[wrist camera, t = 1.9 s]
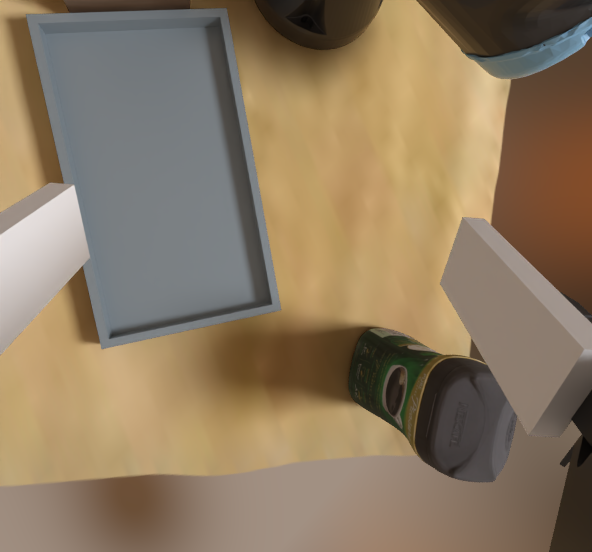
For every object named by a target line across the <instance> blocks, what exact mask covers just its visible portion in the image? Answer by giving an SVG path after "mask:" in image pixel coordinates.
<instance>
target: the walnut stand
mask: <svg viewBox="0 0 592 552" xmlns="http://www.w3.org/2000/svg"><path fill="white" fill-rule="evenodd" d="M64 2H65V4H66V6H67V8H68V10H69V12H70V13H87V12H118V11H150V10H182V9H190V0H64Z"/></svg>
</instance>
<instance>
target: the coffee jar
mask: <svg viewBox="0 0 592 552" xmlns="http://www.w3.org/2000/svg"><path fill="white" fill-rule="evenodd" d="M349 392H350V395H351V397H352V398H353V400H354V401H355V402H357V403H358V404H359V405H360V406H362V407H363V408H365V409H366V410H368V411H370V412H371V413H373V414H375V415H376V416H378V417H380V418H382V419H383V420H385V421H386V422H388V423H389V424H391V425H392V426H394V427H395V428H397V429H398V430H399V431H400V432H402V433H403V434H404V435H405V437H406V438H407V439H408V441H409V443H410V445H411V446H412V448H413V450H414V451H415V453H416V454H417V455H418V457H419V458H420V459H421V460H422V461H424V462H425V463H427V464H428V465H430V466H432V467H433V468H435V469H436V470H437V471H439V472H441V473H443V474H445V475H447V476H449V477H452V478H455V479H458V480H463V481H469V482H493V481H495V480H496V477H497V476H498V475H499V473H500V472H501V471H502V469H503V467H504V465H505V463H506V461H507V458H508V455H509V451H510V447H511V442H512V439H513V435H514V430H515V425H516V420H517V415H516V413H515V411H514V410H513V408H512V406H511V405H510V403H509V401H508V399H507V398H506V396H505V394H504V393H503V391H502V389H501V387H500V386H499V384H498V382H497V381H496V379H495V377H494V375H493V374H492V372H491V370H490V369H489V367H488V365H487V364H485V363H483V362H481V361H479V360H476V359H473V358H470V357H466V356H460V355H442V354H439V353H437V352H436V351H434V350H432V349H430V348H428V347H427V346H425V345H423V344H422V343H420V342H418V341H417V340H415V339H413V338H411V337H409V336H407V335H405V334H403V333H400V332H397V331H394V330H390V329H384V328H374V329H370V330H368V331H366V332H365V333H364V334H363V335H362V336H361V337H360V339H359V341H358V343H357V346H356V349H355V352H354V355H353V359H352V363H351V368H350V374H349Z"/></svg>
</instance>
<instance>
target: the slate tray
mask: <svg viewBox="0 0 592 552" xmlns="http://www.w3.org/2000/svg"><path fill="white" fill-rule="evenodd" d="M26 18H27V22H28V26H29V31H30V35H31V40H32V44H33V49H34V53H35V57H36V62H37V66H38V71H39V75H40V79H41V84H42V88H43V93H44V97H45V101H46V106H47V110H48V115H49V119H50V124H51V128H52V132H53V137H54V141H55V146H56V150H57V154H58V159H59V163H60V168H61V172H62V176H63V181H64V184H74V186H75V191H76V195H77V200H78V204H79V209H80V213H81V218H82V222H83V227H84V232H85V236H86V241H87V245H88V250H89V254H90V258H89V259H88V260H87V261H86V263H85V264H84V265H83V269H84V274H85V278H86V282H87V287H88V291H89V296H90V300H91V304H92V309H93V313H94V318H95V322H96V326H97V331H98V335H99V340H100V344H101V349H105V348H109V347H114V346H118V345H123V344H128V343H132V342H137V341H142V340H146V339H151V338H155V337H160V336H165V335H169V334H174V333H178V332H183V331H188V330H192V329H197V328H201V327H206V326H211V325H215V324H220V323H225V322H229V321H234V320H238V319H243V318H248V317H252V316H257V315H261V314H266V313H271V312H275V311H280V310H281V306H280V301H279V295H278V290H277V284H276V278H275V273H274V267H273V262H272V256H271V251H270V245H269V240H268V234H267V229H266V223H265V218H264V212H263V206H262V201H261V195H260V190H259V184H258V179H257V173H256V168H255V162H254V157H253V151H252V145H251V140H250V134H249V129H248V123H247V118H246V112H245V107H244V101H243V96H242V90H241V84H240V79H239V73H238V68H237V62H236V57H235V51H234V46H233V40H232V35H231V29H230V23H229V18H228V12H227V8H213V9H182V10H150V11H118V12H87V13H55V14H26Z"/></svg>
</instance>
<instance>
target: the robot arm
mask: <svg viewBox="0 0 592 552" xmlns="http://www.w3.org/2000/svg"><path fill="white" fill-rule="evenodd" d="M417 1H418V3H419V4H420V5H421V6H422V7H423V8H424V9H425V10H426V11H427V12H428V13H429V15H430V16H431V17H432V18H433V19H434V20H435V21H436V22H437V23H438V24H439V25H440V26H441V28H442V29H443V30H444V31H445V32H446V33H447V34H448V35H449V36H450V37H451V38H452V40H453V41H454V42H455V43H456V44H457V45H458V46H459V47H460V48H461V51H462V52H463V54H465V55H466V56H467V57H468V58H470V59H472V60H474V61H475V62H477V63H478V64H479V65H480V66H481V67H482V68H483V69H484V70H485V71H487V72H488V73H489V74H490V75H492V76H494V77H496V78H501V79H515V78H521V77H525V76H528V75H531V74H533V73H536V72H539V71H541V70H544V69H546V68H548V67H550V66H552V65H554V64H556V63H558V62H560V61H561V60H563V59H565V58H567V57H568V56H570V55H571V54H573V53H575V52H576V51H578V50H579V49H580V48H582V47H583V46H584V45H585V43H586V41H587V40H588V39H589V38H590V37H592V0H417ZM255 2H256V4H257V6H258V8H259V9H260V11H261V13H262V14H263V16H264V17H265V18H266V20H267V21H268V22H269V23H270V24H271V25H272V26H273V27H274V28H275V29H276V30H277V31H278V32H279V33H281V34H282V35H283V36H285V37H286V38H288V39H289V40H291V41H293V42H295V43H297V44H299V45H302V46H305V47H308V48H313V49H334V48H338V47H342V46H344V45H347V44H349V43H350V42H352V41H354V40H355V39H356V38H358V37H359V36H360V35H361V34H362V33H363V32H364V31H365V30H366V28H367V27H368V25H369V24H370V23H371V21H372V20H373V19H374V17H375V16H376V14H377V12H378V10H379V8H380V6H381V4H382V2H383V0H255ZM89 258H90V254H89V250H88V245H87V241H86V236H85V232H84V227H83V222H82V218H81V213H80V209H79V204H78V200H77V195H76V191H75V186H74V184H62V183H49V184H47V185H45V186H44V187H42V188H40V189H39V190H37V191H36V192H34V193H32V194H31V195H29V196H27V197H26V198H24V199H22V200H21V201H19V202H17V203H16V204H14V205H12V206H11V207H9V208H7V209H6V210H4V211H2V212H1V213H0V355H1V354H2V353H3V352H4V351H5V350H6V349H7V347H8V346H9V345H10V344H11V343H12V342H13V341H14V340H15V339H16V338H17V337H18V335H19V334H20V333H21V332H22V331H23V330H24V329H25V328H26V327H27V326H28V325H29V324H30V322H31V321H32V320H33V319H34V318H35V317H36V316H37V315H38V314H39V313H40V312H41V310H42V309H43V308H44V307H45V306H46V305H47V304H48V303H49V302H50V301H51V300H52V298H53V297H54V296H55V295H56V294H57V293H58V292H59V291H60V290H61V289H62V288H63V286H64V285H65V284H66V283H67V282H68V281H69V280H70V279H71V278H72V277H73V276H74V275H75V273H76V272H77V271H78V270H79V269H80V268H81V267H82V266H83V265H84V264H85V263H86V261H87V260H88V259H89ZM440 285H441V286H442V288H443V290H444V291H445V293H446V295H447V297H448V298H449V300H450V302H451V303H452V305H453V307H454V309H455V310H456V312H457V314H458V315H459V317H460V319H461V321H462V322H463V324H464V326H465V327H466V329H467V331H468V333H469V334H470V336H471V338H472V339H473V341H474V343H475V344H476V346H477V348H478V350H479V351H480V353H481V355H482V357H483V358H484V360H485V362H486V363H487V365H488V367H489V369H490V370H491V372H492V374H493V375H494V377H495V379H496V381H497V382H498V384H499V386H500V387H501V389H502V391H503V393H504V394H505V396H506V398H507V399H508V401H509V403H510V405H511V406H512V408H513V410H514V411H515V413H516V415H517V417H518V418H519V420H520V422H521V423H522V425H523V427H524V429H525V430H526V432H527V433H528V435H529V436H544V437H560V436H561V435H562V433H563V432H564V431H565V429H566V428H567V426H568V425H569V424H570V422H571V421H573V422H574V423H575V425H576V426H577V427H578V429H579V430H580V432H581V433H582V435H581V436H580V437H579V439H578V440H577V441H576V443H575V444H574V445H573V447H572V448H571V449H570V451H569V452H568V453H567V455H566V456H565V457H564V459H563V460H562V461H561V463H560V465H562V466H564V467H565V466H566V465H567V464H568V462H570V465H569V469H568V473H567V478H566V482H565V486H564V490H563V495H562V499H561V503H560V507H559V512H558V516H557V520H556V524H555V529H554V533H553V537H552V542H551V546H550V550H549V552H592V315H591V314H590V313H588V311H587V310H586V309H584V308H583V307H582V306H581V305H580V304H579V303H578V302H576V301H574V300H573V299H571V298H569V297H568V296H566V295H565V294H563V293H561V292H559V291H558V290H557V289H556V288H555V287H554V286H553V285H552V284H550V282H549V281H548V280H546V279H545V278H544V277H543V276H542V275H541V274H540V273H539V272H538V271H537V270H536V269H535V268H534V267H533V266H532V265H531V264H530V263H529V262H528V261H527V260H526V259H525V258H524V257H523V256H522V255H521V254H520V253H519V252H518V251H517V250H516V249H515V248H514V247H513V246H511V245H510V244H509V243H508V242H507V241H506V240H505V239H504V238H503V237H502V236H501V235H500V234H499V233H498V232H497V231H496V230H495V229H494V228H493V227H492V226H491V225H490V224H489V223H488V222H487V221H486V220H485V219H480V218H468V217H462V220H461V223H460V226H459V229H458V232H457V235H456V238H455V241H454V244H453V247H452V250H451V253H450V256H449V259H448V261H447V264H446V267H445V270H444V273H443V276H442V279H441V282H440Z"/></svg>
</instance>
